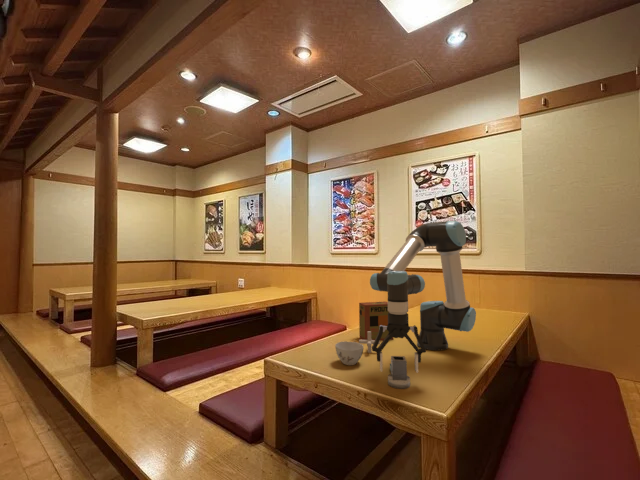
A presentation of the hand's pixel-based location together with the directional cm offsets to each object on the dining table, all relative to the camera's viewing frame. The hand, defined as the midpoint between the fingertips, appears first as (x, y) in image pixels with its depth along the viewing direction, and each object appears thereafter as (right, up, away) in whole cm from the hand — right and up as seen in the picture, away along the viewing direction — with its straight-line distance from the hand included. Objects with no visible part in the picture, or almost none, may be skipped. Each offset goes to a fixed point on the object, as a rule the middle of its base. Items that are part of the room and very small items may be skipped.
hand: (398, 370), depth 119 cm
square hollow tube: (0, -2, 0) cm, 2 cm away
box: (+3, -8, +62) cm, 62 cm away
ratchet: (+1, -5, +6) cm, 8 cm away
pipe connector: (-5, -7, +38) cm, 38 cm away
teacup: (-16, -6, +24) cm, 29 cm away
